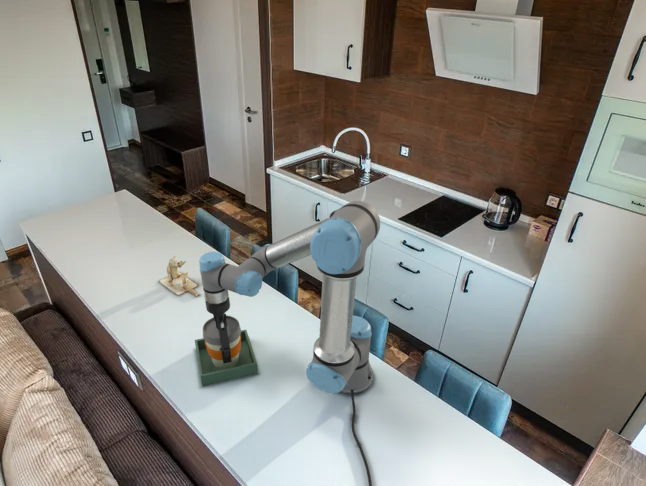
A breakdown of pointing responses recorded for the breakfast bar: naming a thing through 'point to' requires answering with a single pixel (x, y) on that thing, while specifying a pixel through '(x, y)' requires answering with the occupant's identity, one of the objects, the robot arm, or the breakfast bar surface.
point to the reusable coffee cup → (214, 341)
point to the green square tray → (241, 369)
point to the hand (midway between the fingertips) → (224, 349)
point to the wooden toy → (178, 279)
